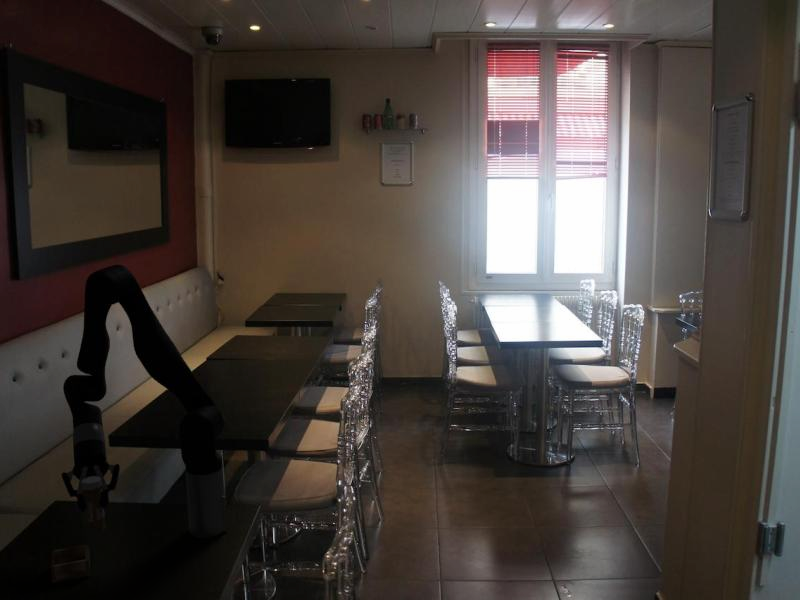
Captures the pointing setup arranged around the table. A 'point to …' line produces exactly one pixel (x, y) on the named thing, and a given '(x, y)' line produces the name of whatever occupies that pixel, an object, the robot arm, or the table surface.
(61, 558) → the oak socket block
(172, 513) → the table surface
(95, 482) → the sprinkles bottle
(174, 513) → the table surface
